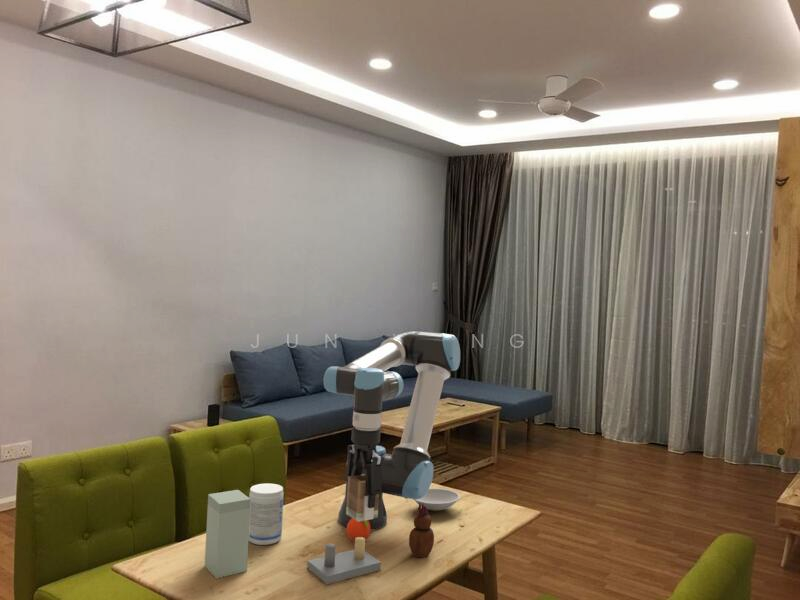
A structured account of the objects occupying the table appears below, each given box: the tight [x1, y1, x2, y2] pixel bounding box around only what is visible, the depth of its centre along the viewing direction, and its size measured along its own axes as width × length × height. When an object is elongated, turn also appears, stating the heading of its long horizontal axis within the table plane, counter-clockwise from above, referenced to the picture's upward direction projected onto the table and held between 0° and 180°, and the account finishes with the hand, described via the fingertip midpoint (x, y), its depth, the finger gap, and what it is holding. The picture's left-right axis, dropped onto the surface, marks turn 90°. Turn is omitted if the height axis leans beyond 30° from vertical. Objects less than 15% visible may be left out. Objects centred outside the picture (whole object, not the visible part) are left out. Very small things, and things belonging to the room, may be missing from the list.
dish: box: [412, 487, 461, 511], centre depth 211 cm, size 18×14×5 cm
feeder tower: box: [204, 489, 251, 579], centre depth 161 cm, size 8×8×18 cm
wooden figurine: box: [408, 503, 435, 558], centre depth 175 cm, size 7×6×15 cm
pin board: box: [307, 537, 382, 585], centre depth 164 cm, size 16×10×7 cm, turn 127°
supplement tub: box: [248, 483, 284, 546], centre depth 180 cm, size 10×10×15 cm
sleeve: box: [346, 474, 379, 522], centre depth 166 cm, size 6×6×10 cm
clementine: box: [346, 518, 372, 542], centre depth 182 cm, size 8×7×7 cm
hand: (361, 514), depth 166 cm, fingers closed on sleeve, 6 cm apart
